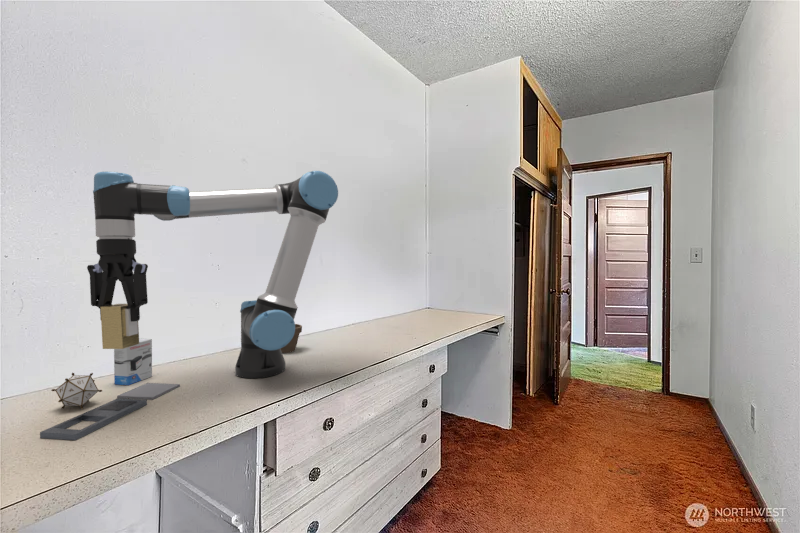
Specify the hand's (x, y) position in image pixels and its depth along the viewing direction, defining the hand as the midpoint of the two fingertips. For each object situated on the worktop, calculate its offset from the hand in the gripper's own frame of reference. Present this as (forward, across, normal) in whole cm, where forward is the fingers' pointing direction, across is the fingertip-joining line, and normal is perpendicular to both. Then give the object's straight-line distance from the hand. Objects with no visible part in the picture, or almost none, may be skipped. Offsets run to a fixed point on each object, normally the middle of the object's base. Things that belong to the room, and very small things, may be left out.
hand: (121, 334), depth 89 cm
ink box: (+18, +13, -19) cm, 29 cm away
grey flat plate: (+18, 0, +7) cm, 19 cm away
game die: (+18, +12, 0) cm, 22 cm away
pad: (+18, +2, -10) cm, 21 cm away
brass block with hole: (+3, 0, 0) cm, 3 cm away
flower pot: (+20, -19, -56) cm, 62 cm away
